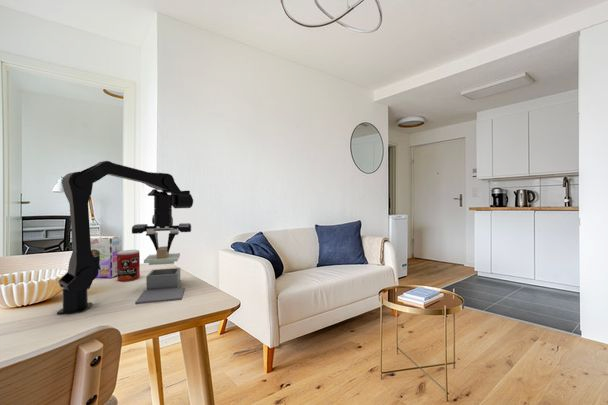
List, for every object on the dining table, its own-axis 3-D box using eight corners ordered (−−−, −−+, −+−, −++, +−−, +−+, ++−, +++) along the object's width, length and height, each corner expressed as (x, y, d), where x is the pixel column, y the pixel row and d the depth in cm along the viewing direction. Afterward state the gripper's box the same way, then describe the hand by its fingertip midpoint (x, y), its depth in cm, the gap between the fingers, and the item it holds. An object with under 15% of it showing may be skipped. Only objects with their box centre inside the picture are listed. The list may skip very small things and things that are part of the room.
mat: (181, 299, 93) (181, 297, 93) (135, 304, 90) (135, 302, 90) (184, 288, 105) (184, 286, 105) (143, 292, 101) (143, 290, 101)
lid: (177, 264, 103) (177, 249, 102) (143, 266, 99) (143, 251, 99) (180, 258, 112) (180, 245, 112) (149, 260, 109) (149, 246, 109)
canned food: (114, 282, 113) (113, 253, 113) (121, 277, 121) (120, 250, 120) (136, 280, 115) (136, 252, 115) (142, 275, 123) (141, 249, 122)
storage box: (177, 288, 106) (177, 274, 105) (146, 290, 103) (146, 276, 102) (180, 280, 115) (180, 267, 115) (152, 282, 112) (151, 269, 112)
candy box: (121, 274, 124) (121, 235, 124) (111, 278, 118) (110, 237, 118) (91, 274, 125) (90, 235, 125) (79, 277, 120) (79, 237, 119)
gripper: (192, 208, 116) (191, 247, 116) (138, 208, 110) (138, 250, 111) (190, 208, 106) (190, 252, 106) (131, 209, 100) (131, 255, 100)
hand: (163, 252), depth 106 cm, fingers closed on lid, 3 cm apart
